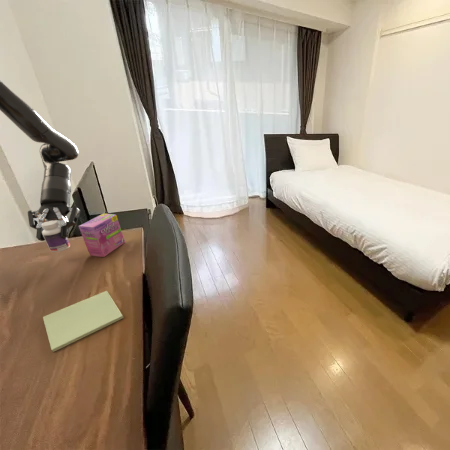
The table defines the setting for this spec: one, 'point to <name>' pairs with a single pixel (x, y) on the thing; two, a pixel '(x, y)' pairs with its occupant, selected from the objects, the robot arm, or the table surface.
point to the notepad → (80, 320)
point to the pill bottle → (54, 236)
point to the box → (102, 234)
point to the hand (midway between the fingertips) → (52, 238)
